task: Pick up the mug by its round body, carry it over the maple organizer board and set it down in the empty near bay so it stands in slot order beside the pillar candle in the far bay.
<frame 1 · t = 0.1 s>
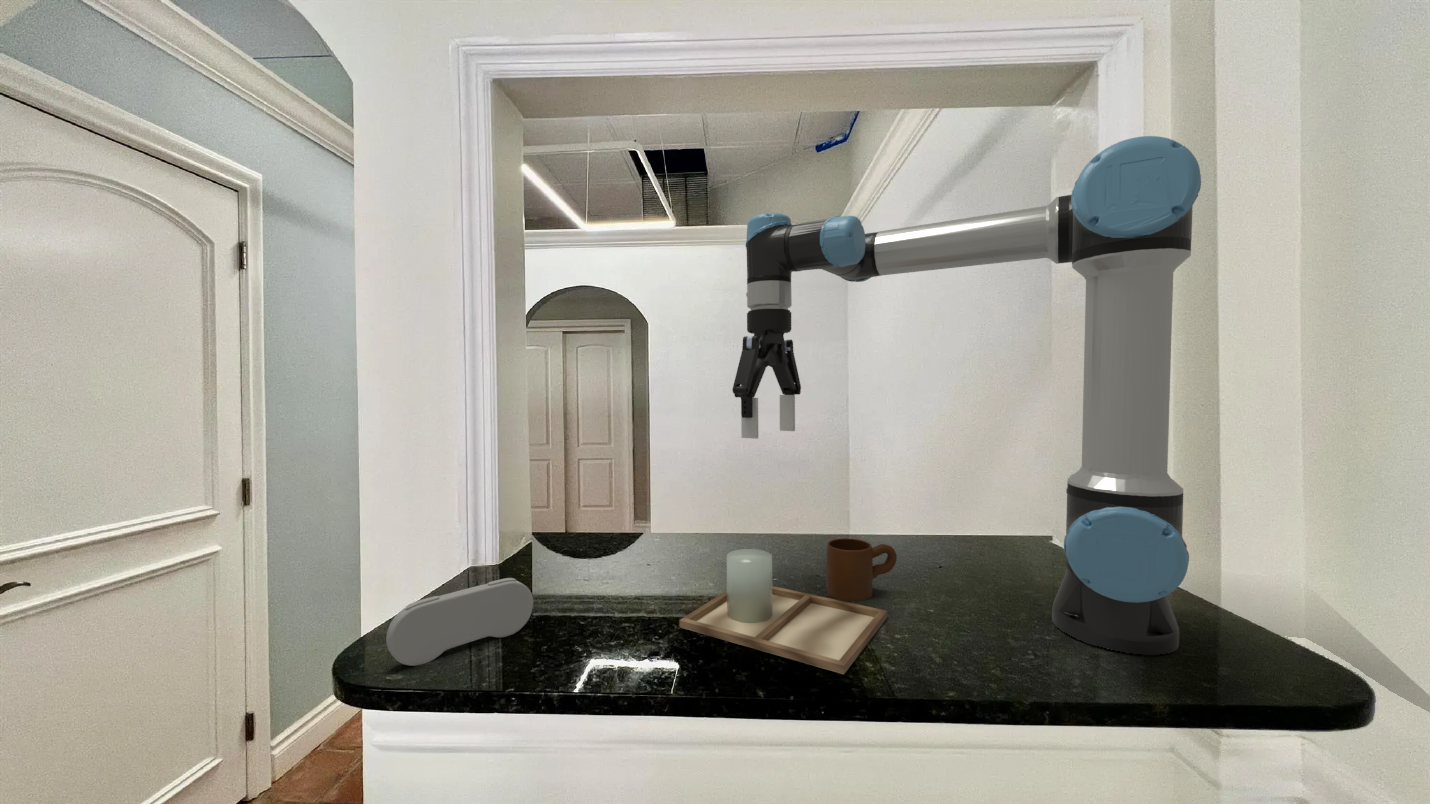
hand: (769, 434, 96), 28 cm above the countertop, fingers open, 13 cm apart
pillar candle: (749, 613, 87), point 1 cm above the countertop, touching organizer
organizer: (785, 629, 84), on the countertop
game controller: (466, 648, 80), on the countertop
mug: (861, 599, 95), on the countertop
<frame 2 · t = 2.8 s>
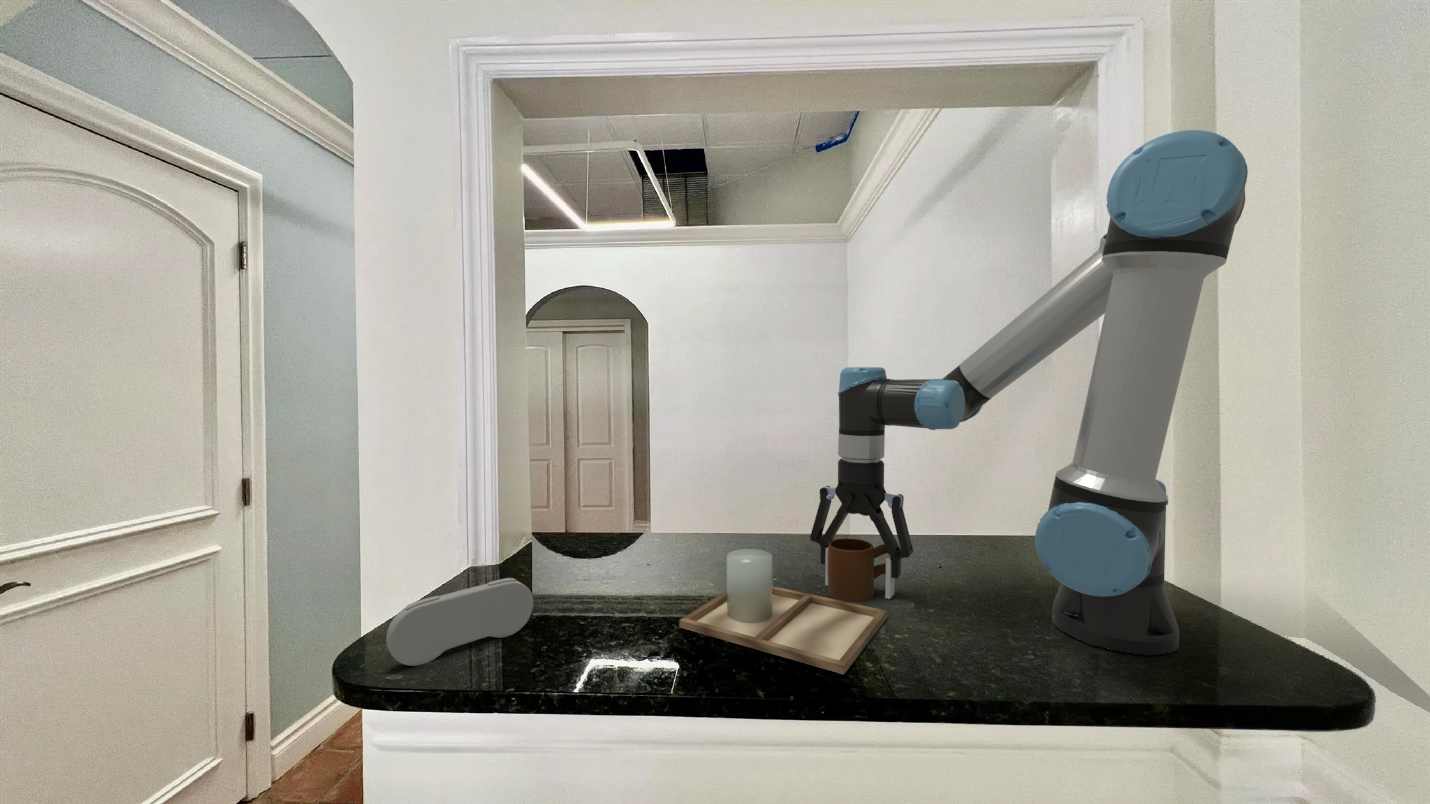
hand: (859, 589, 95), 1 cm above the countertop, fingers closed on mug, 10 cm apart
mug: (863, 599, 95), on the countertop, touching gripper
everything else where it was.
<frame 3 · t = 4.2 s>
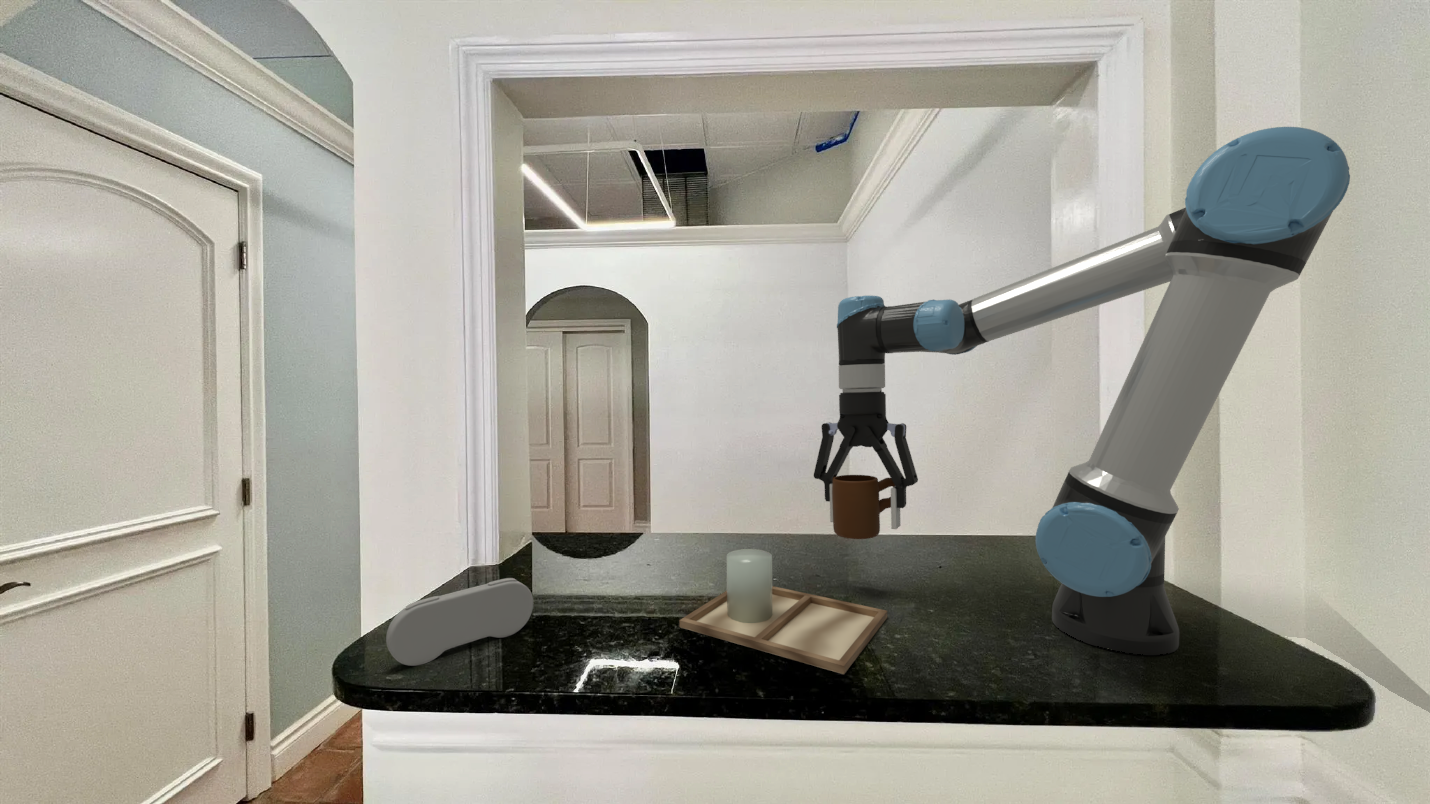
hand: (864, 523, 94), 13 cm above the countertop, fingers closed on mug, 10 cm apart
mug: (869, 534, 94), point 11 cm above the countertop, touching gripper
everything else where it was.
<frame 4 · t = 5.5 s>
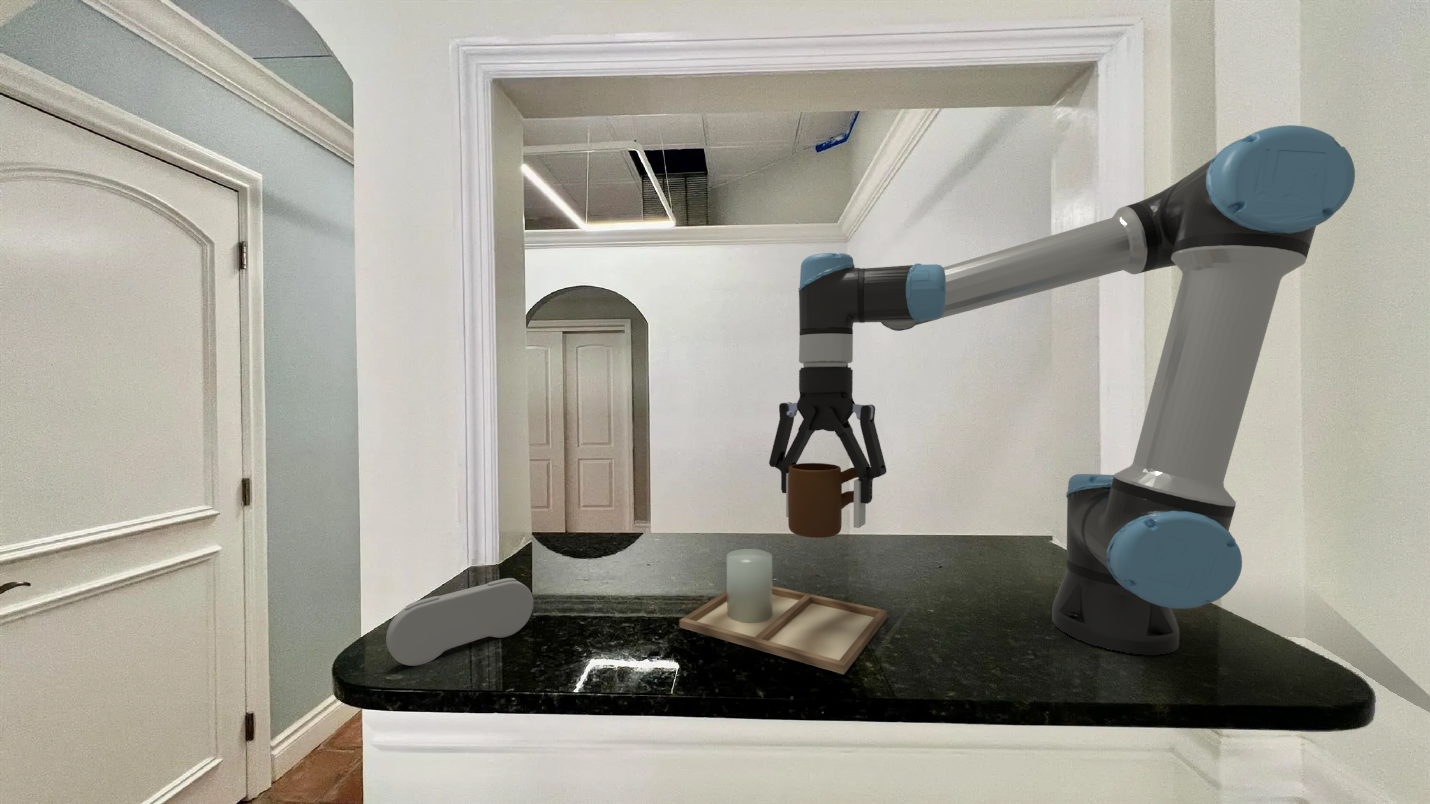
hand: (824, 520, 81), 17 cm above the countertop, fingers closed on mug, 10 cm apart
mug: (829, 532, 81), point 15 cm above the countertop, touching gripper
everything else where it was.
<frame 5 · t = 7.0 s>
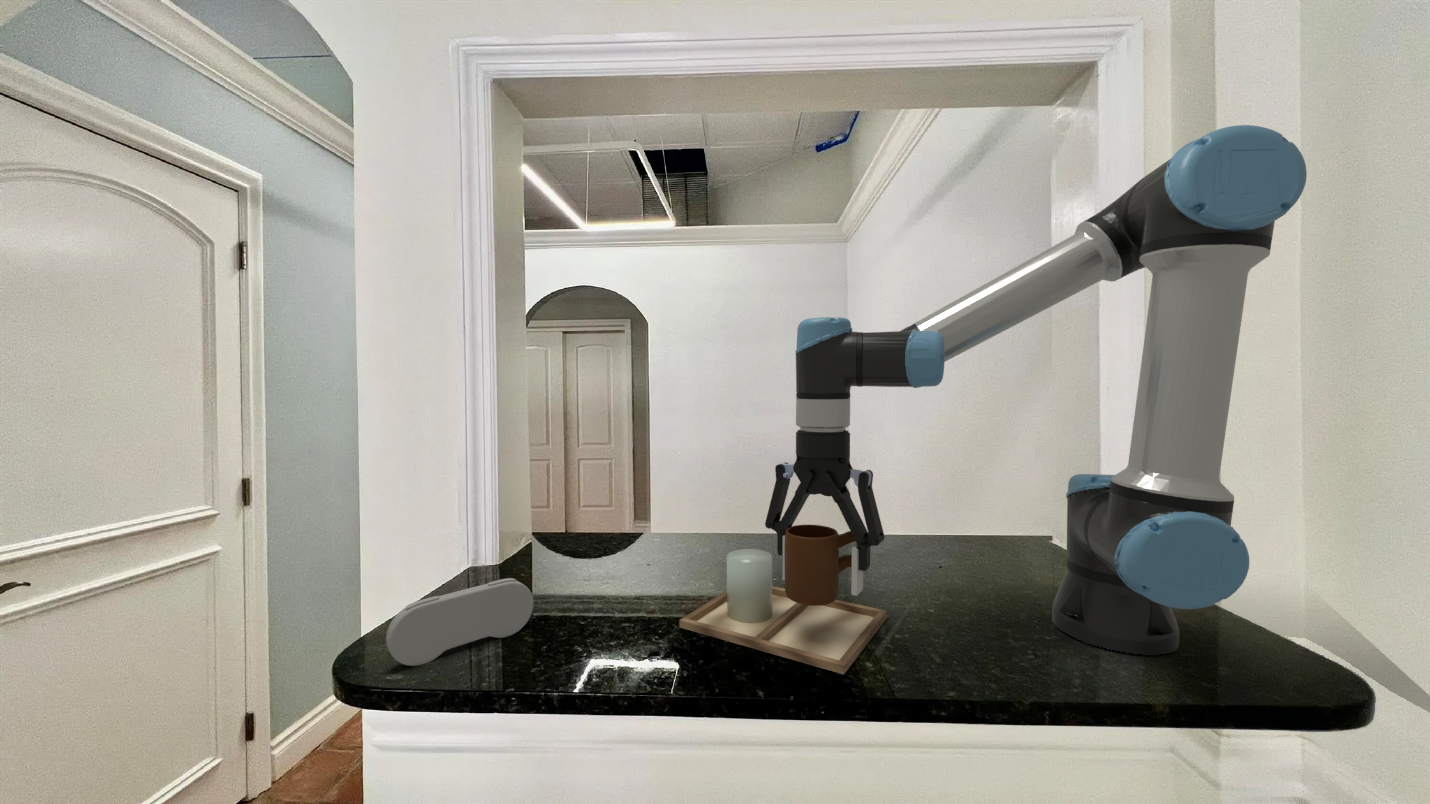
hand: (821, 584, 80), 8 cm above the countertop, fingers closed on mug, 10 cm apart
mug: (826, 597, 80), point 6 cm above the countertop, touching gripper
everything else where it was.
when the fingers open (4 cm above the countertop, at t = 8.1 s): mug drops 1 cm, resting on organizer.
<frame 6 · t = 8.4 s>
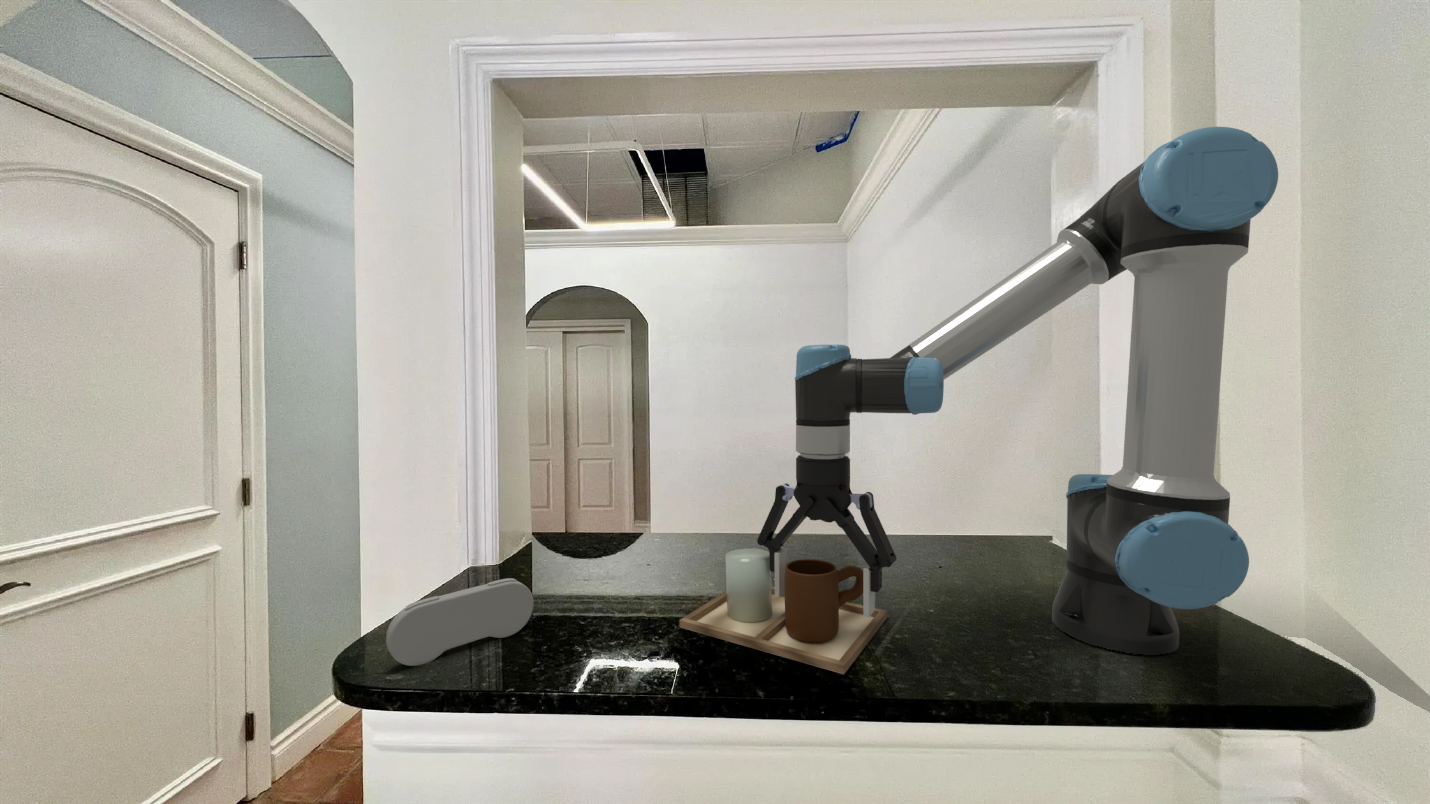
hand: (823, 603, 80), 5 cm above the countertop, fingers open, 13 cm apart
pillar candle: (749, 612, 87), point 1 cm above the countertop, touching gripper, organizer
mug: (826, 632, 80), point 1 cm above the countertop, touching organizer
everything else where it was.
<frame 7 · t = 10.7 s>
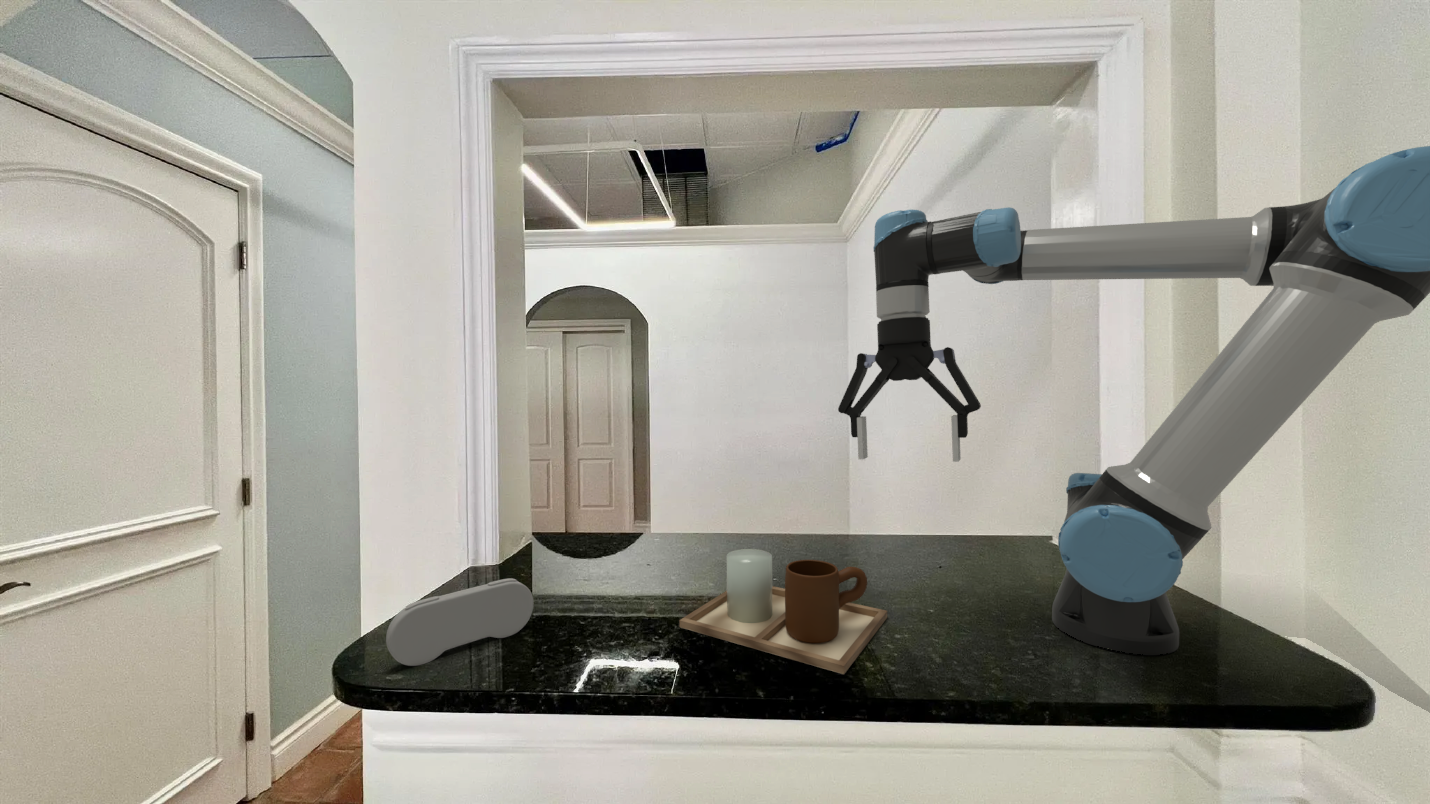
hand: (908, 459, 85), 25 cm above the countertop, fingers open, 13 cm apart
pillar candle: (749, 613, 87), point 1 cm above the countertop, touching organizer
everything else where it was.
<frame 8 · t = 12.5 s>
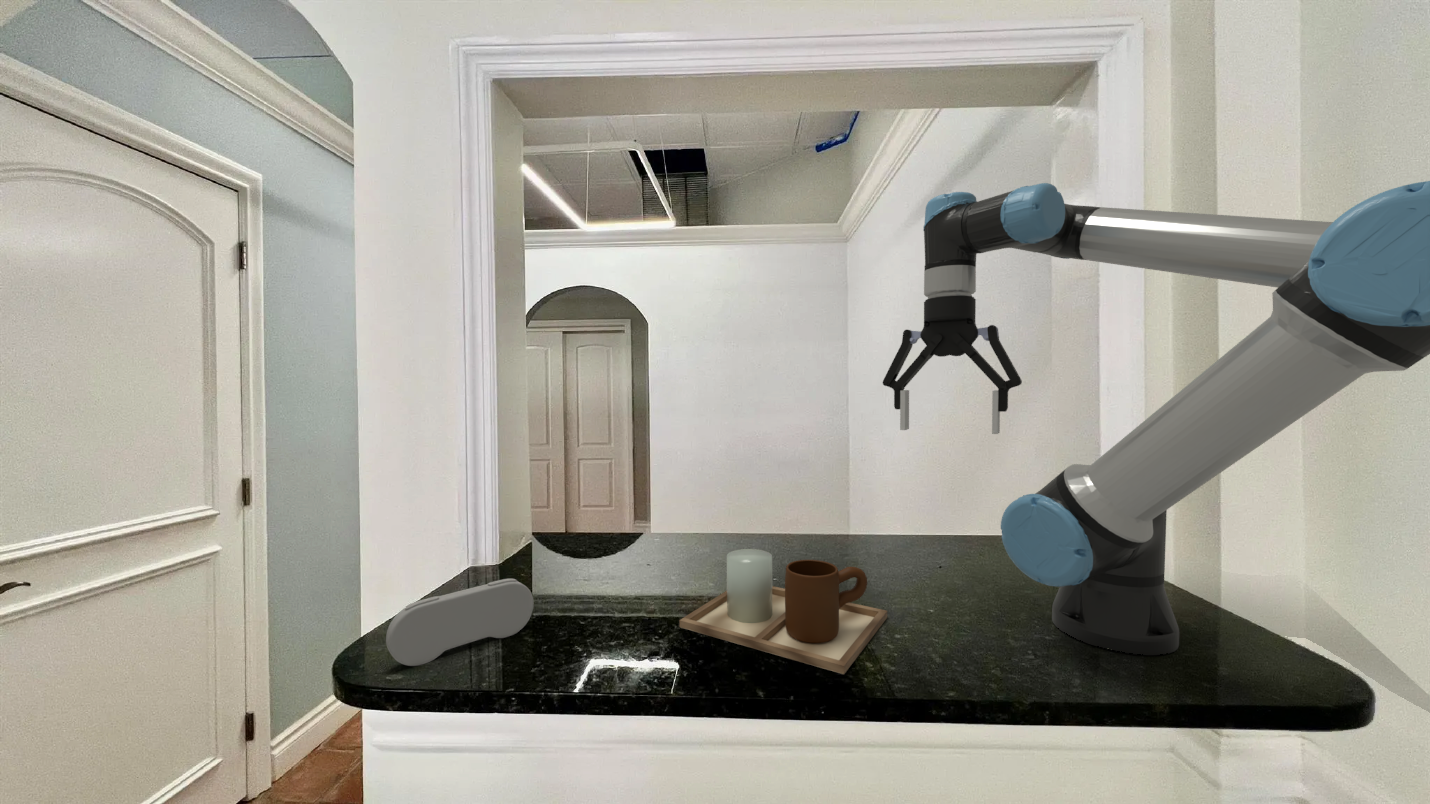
hand: (948, 431, 89), 29 cm above the countertop, fingers open, 13 cm apart
nothing on the countertop moved.
at the end: mug inside the target area (0.6 cm from its centre), point 1.0 cm above the countertop; mug tilted 0°; pillar candle moved 0.0 cm from its start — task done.
